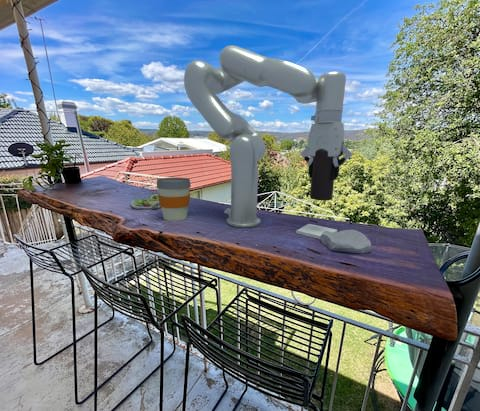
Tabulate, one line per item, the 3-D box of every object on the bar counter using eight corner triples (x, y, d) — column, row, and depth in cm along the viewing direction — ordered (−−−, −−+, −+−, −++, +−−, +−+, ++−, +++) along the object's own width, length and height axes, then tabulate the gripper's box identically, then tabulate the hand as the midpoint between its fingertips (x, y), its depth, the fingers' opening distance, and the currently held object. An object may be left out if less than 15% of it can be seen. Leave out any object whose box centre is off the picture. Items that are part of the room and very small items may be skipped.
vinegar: (334, 198, 78) (341, 134, 74) (327, 201, 73) (334, 133, 69) (314, 195, 82) (320, 135, 78) (306, 198, 77) (311, 133, 73)
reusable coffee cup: (179, 223, 87) (178, 182, 84) (151, 219, 91) (148, 180, 88) (197, 215, 99) (196, 178, 95) (171, 212, 103) (169, 176, 99)
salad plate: (173, 210, 107) (173, 199, 106) (129, 212, 101) (128, 202, 100) (169, 201, 125) (169, 192, 124) (131, 203, 119) (131, 193, 118)
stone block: (373, 259, 66) (354, 239, 75) (377, 244, 64) (358, 226, 73) (331, 261, 65) (317, 241, 74) (334, 247, 63) (320, 227, 72)
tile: (296, 233, 80) (296, 230, 80) (308, 226, 87) (309, 223, 87) (326, 240, 74) (326, 237, 73) (337, 232, 81) (337, 229, 81)
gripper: (296, 119, 75) (292, 177, 79) (355, 115, 64) (347, 182, 68) (306, 121, 80) (302, 175, 84) (362, 118, 70) (354, 180, 74)
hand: (322, 178), depth 76 cm, fingers closed on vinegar, 6 cm apart
